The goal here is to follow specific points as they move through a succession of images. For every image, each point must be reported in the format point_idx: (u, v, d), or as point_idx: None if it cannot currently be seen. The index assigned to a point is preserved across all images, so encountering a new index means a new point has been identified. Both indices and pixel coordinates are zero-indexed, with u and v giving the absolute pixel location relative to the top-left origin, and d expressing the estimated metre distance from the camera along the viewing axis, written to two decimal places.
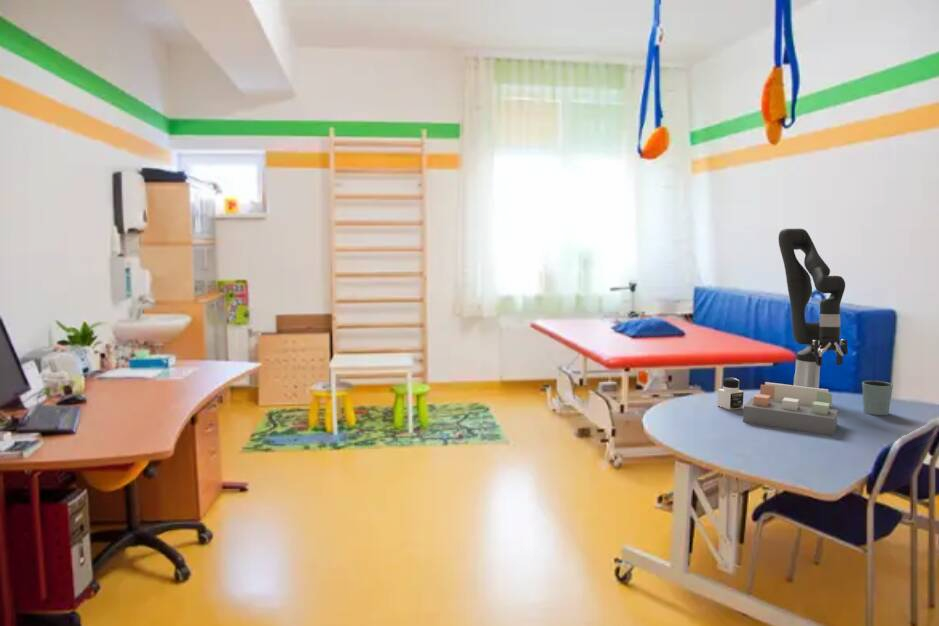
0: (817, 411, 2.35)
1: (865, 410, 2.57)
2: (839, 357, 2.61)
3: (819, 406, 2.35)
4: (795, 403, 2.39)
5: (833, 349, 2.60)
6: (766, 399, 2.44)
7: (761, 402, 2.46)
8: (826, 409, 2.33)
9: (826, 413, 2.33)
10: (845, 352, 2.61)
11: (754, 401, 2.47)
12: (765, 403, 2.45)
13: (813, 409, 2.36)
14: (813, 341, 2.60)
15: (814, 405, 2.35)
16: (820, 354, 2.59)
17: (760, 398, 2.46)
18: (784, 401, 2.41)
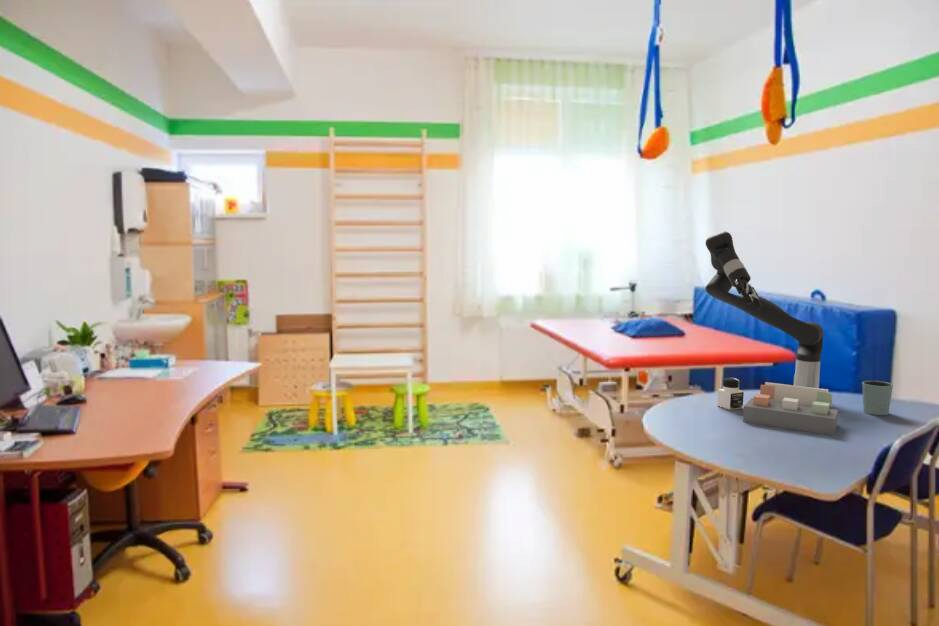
0: (817, 411, 2.35)
1: (865, 410, 2.57)
2: (757, 300, 2.56)
3: (819, 406, 2.35)
4: (795, 403, 2.39)
5: (751, 291, 2.56)
6: (766, 399, 2.44)
7: (761, 402, 2.46)
8: (826, 409, 2.33)
9: (826, 413, 2.33)
10: (758, 297, 2.58)
11: (754, 401, 2.47)
12: (765, 403, 2.45)
13: (813, 409, 2.36)
14: (735, 281, 2.53)
15: (814, 405, 2.35)
16: (747, 291, 2.51)
17: (760, 398, 2.46)
18: (784, 401, 2.41)
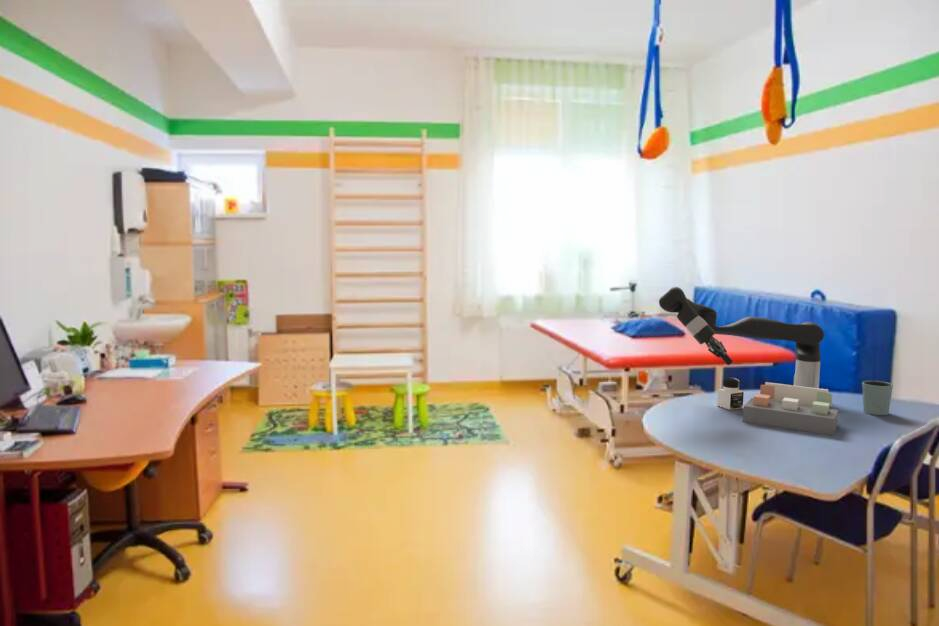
0: (817, 411, 2.35)
1: (865, 410, 2.57)
2: None
3: (819, 406, 2.35)
4: (795, 403, 2.39)
5: None
6: (766, 399, 2.44)
7: (761, 402, 2.46)
8: (826, 409, 2.33)
9: (826, 413, 2.33)
10: (725, 350, 2.56)
11: (754, 401, 2.47)
12: (765, 403, 2.45)
13: (813, 409, 2.36)
14: (711, 349, 2.51)
15: (814, 405, 2.35)
16: (724, 352, 2.53)
17: (760, 398, 2.46)
18: (784, 401, 2.41)
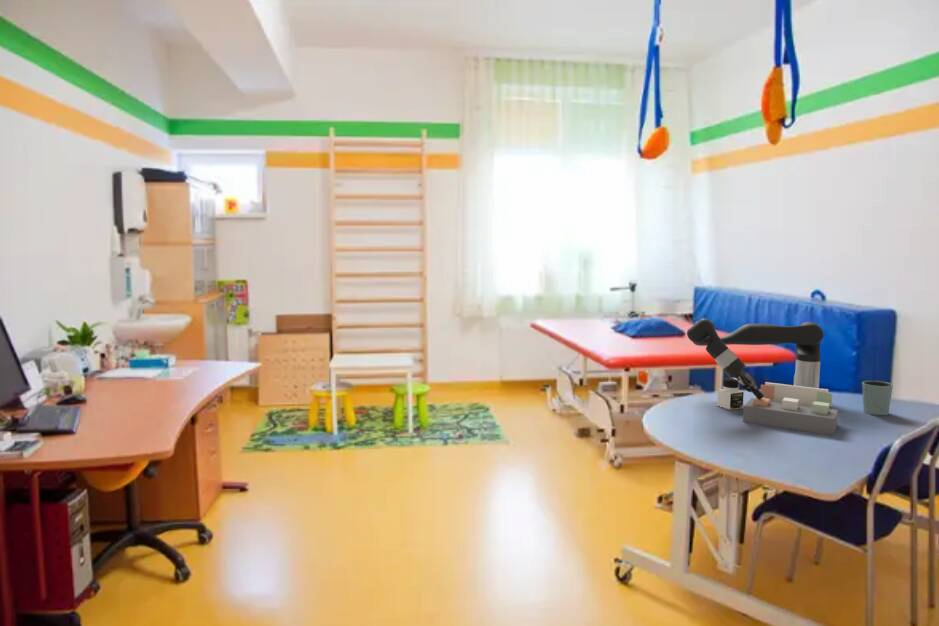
0: (817, 411, 2.35)
1: (865, 410, 2.57)
2: None
3: (819, 406, 2.35)
4: (795, 403, 2.39)
5: None
6: (766, 402, 2.45)
7: (761, 405, 2.46)
8: (826, 409, 2.33)
9: (826, 413, 2.33)
10: (755, 383, 2.51)
11: (754, 404, 2.47)
12: None
13: (813, 409, 2.36)
14: (742, 384, 2.45)
15: (814, 405, 2.35)
16: (755, 386, 2.48)
17: (760, 402, 2.46)
18: (784, 401, 2.41)
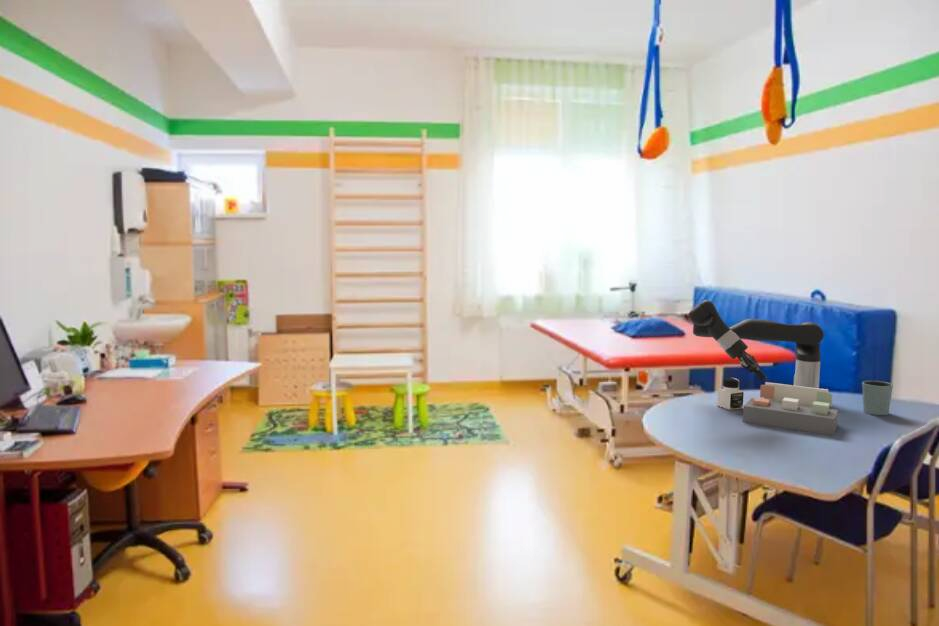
0: (817, 411, 2.35)
1: (865, 410, 2.57)
2: None
3: (819, 406, 2.35)
4: (795, 403, 2.39)
5: None
6: (766, 403, 2.45)
7: None
8: (826, 409, 2.33)
9: (826, 413, 2.33)
10: (757, 365, 2.50)
11: None
12: None
13: (813, 409, 2.36)
14: (744, 364, 2.44)
15: (814, 405, 2.35)
16: (757, 368, 2.47)
17: (759, 402, 2.46)
18: (784, 401, 2.41)
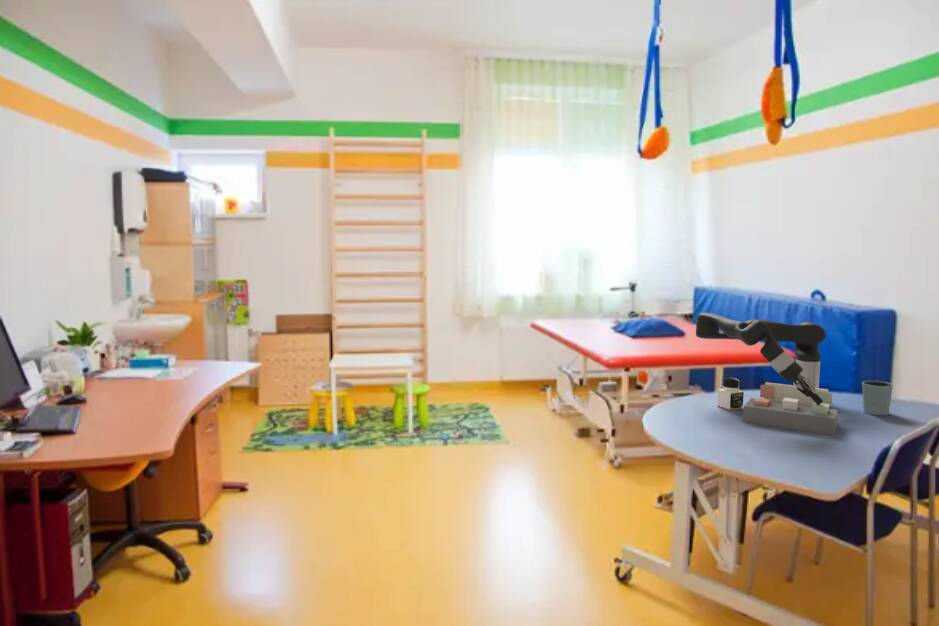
0: (817, 412, 2.35)
1: (865, 410, 2.57)
2: None
3: (819, 407, 2.35)
4: (795, 403, 2.39)
5: None
6: (766, 403, 2.45)
7: None
8: (826, 410, 2.33)
9: (826, 414, 2.33)
10: (813, 388, 2.39)
11: None
12: None
13: (813, 410, 2.36)
14: (801, 388, 2.34)
15: (814, 406, 2.35)
16: (813, 391, 2.37)
17: (759, 402, 2.46)
18: (784, 401, 2.41)
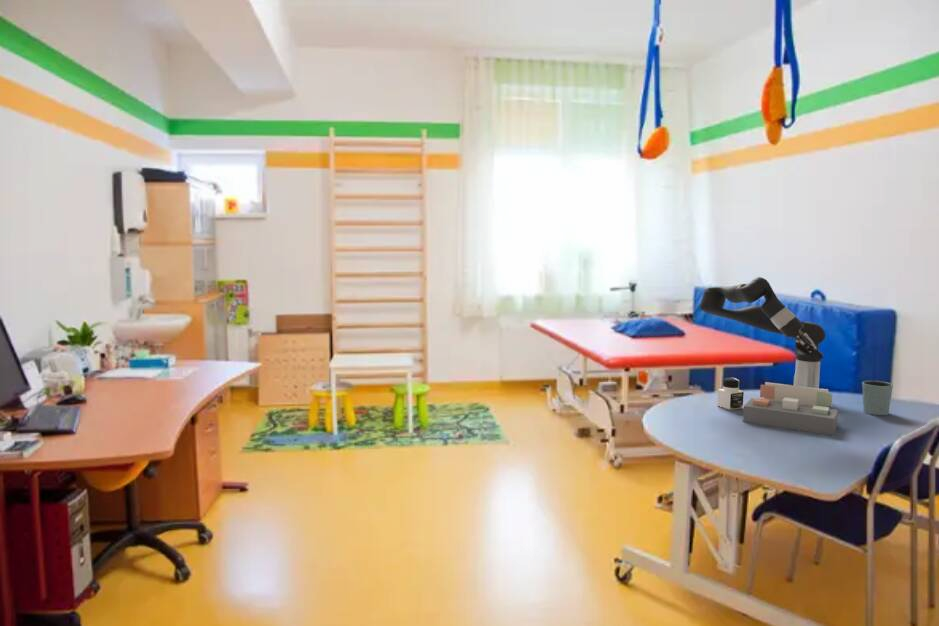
0: None
1: (865, 410, 2.57)
2: None
3: (819, 410, 2.35)
4: (795, 403, 2.39)
5: None
6: (766, 403, 2.45)
7: None
8: (826, 413, 2.34)
9: None
10: (814, 344, 2.38)
11: None
12: None
13: None
14: (801, 342, 2.33)
15: (814, 409, 2.36)
16: (814, 346, 2.35)
17: (759, 402, 2.46)
18: (784, 401, 2.41)
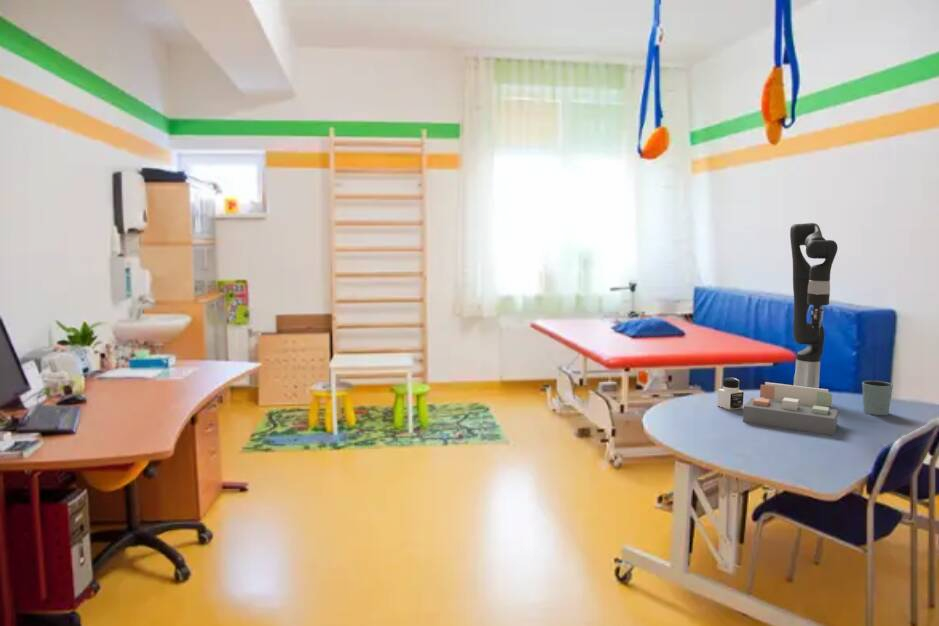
0: None
1: (865, 410, 2.57)
2: None
3: (819, 410, 2.35)
4: (795, 403, 2.39)
5: None
6: (766, 403, 2.45)
7: None
8: (826, 413, 2.34)
9: None
10: (820, 322, 2.51)
11: None
12: None
13: None
14: (814, 317, 2.45)
15: (814, 409, 2.36)
16: (819, 325, 2.49)
17: (759, 402, 2.46)
18: (784, 401, 2.41)
